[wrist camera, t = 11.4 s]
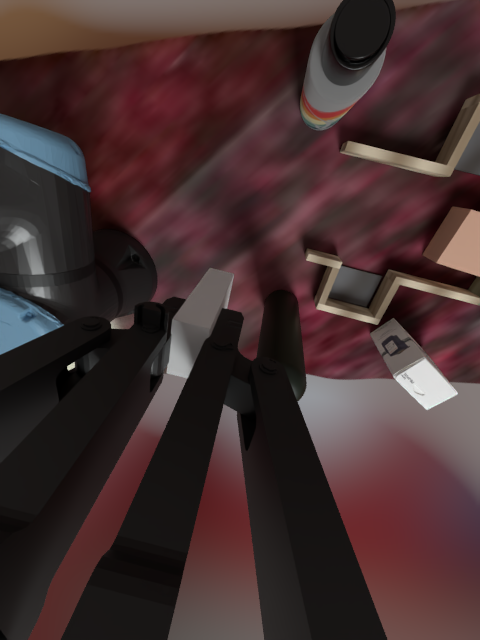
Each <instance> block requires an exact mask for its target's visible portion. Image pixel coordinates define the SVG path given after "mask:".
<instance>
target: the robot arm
mask: <svg viewBox="0 0 480 640" xmlns="http://www.w3.org/2000/svg"><path fill="white" fill-rule="evenodd" d="M90 192H91V188H90V187H89V185H88V179H87V172H86V165H85V158H84V155H83V153H82V151H81V149H80V148H79V146H78V145H77V144H76V143H75V142H74V141H73V140H71V139H70V138H68V137H66V136H64V135H61V134H59V133H56V132H53V131H51V130H48V129H45V128H42V127H39V126H37V125H34V124H31V123H28V122H25V121H22V120H19V119H16V118H13V117H10V116H7V115H3V114H0V640H28V638H29V636H30V634H31V632H32V630H33V628H34V626H35V624H36V622H37V620H38V618H39V615H40V613H41V610H42V608H43V605H44V602H45V598H46V595H47V591H48V588H49V586H50V583H51V581H52V579H53V577H54V575H55V573H56V571H57V569H58V568H59V566H60V564H61V562H62V560H63V559H64V557H65V555H66V553H67V551H68V550H69V548H70V546H71V544H72V543H73V541H74V539H75V537H76V535H77V533H78V532H79V530H80V528H81V526H82V524H83V523H84V521H85V519H86V517H87V515H88V514H89V512H90V510H91V508H92V507H93V505H94V503H95V501H96V499H97V497H98V496H99V494H100V492H101V490H102V489H103V486H104V485H105V483H106V481H107V479H108V478H109V476H110V474H111V472H112V471H113V469H114V467H115V465H116V463H117V461H118V460H119V458H120V456H121V454H122V453H123V451H124V449H125V447H126V445H127V444H128V442H129V440H130V438H131V436H132V435H133V433H134V431H135V429H136V427H137V426H138V424H139V422H140V420H141V418H142V417H143V415H144V413H145V411H146V409H147V408H148V406H149V404H150V402H151V400H152V399H153V397H154V395H155V393H156V391H157V390H158V388H159V386H160V384H161V383H162V379H163V373H164V370H165V368H166V366H167V364H168V366H167V373H168V374H172V375H176V376H180V377H185V378H188V379H187V381H186V383H185V385H184V387H183V390H182V392H181V394H180V396H179V399H178V401H177V403H176V405H175V407H174V410H173V412H172V414H171V417H170V419H169V421H168V423H167V425H166V428H165V430H164V432H163V434H162V437H161V439H160V441H159V443H158V445H157V448H156V450H155V452H154V455H153V457H152V459H151V461H150V464H149V466H148V468H147V470H146V472H145V474H144V477H143V479H142V481H141V483H140V486H139V488H138V490H137V492H136V494H135V497H134V499H133V501H132V503H131V506H130V508H129V510H128V512H127V515H126V517H125V519H124V521H123V523H122V526H121V528H120V530H119V532H118V535H117V537H116V539H115V541H114V543H113V545H112V546H111V548H110V550H108V551H107V552H106V553H105V554H104V555H103V556H102V558H101V559H100V561H99V562H98V564H97V566H96V567H95V569H94V571H93V573H92V575H91V577H90V579H89V581H88V583H87V585H86V587H85V589H84V591H83V594H82V596H81V598H80V600H79V602H78V604H77V606H76V608H75V611H74V613H73V615H72V617H71V619H70V621H69V623H68V626H67V627H66V630H65V632H64V634H63V636H62V638H61V640H167V638H168V634H169V630H170V625H171V622H172V617H173V613H174V609H175V605H176V600H177V597H178V593H179V588H180V584H181V579H182V575H183V570H184V566H185V562H186V558H187V554H188V550H189V546H190V541H191V537H192V533H193V529H194V525H195V521H196V516H197V512H198V508H199V504H200V500H201V496H202V492H203V487H204V483H205V479H206V475H207V471H208V467H209V462H210V458H211V454H212V450H213V446H214V442H215V437H216V433H217V429H218V425H219V421H220V417H221V413H222V408H223V404H225V405H227V406H228V407H230V408H232V409H234V410H235V411H237V420H238V428H239V436H240V445H241V453H242V461H243V469H244V477H245V485H246V493H247V502H248V510H249V518H250V526H251V534H252V543H253V550H254V559H255V567H256V575H257V583H258V591H259V599H260V608H261V615H262V624H263V632H264V640H387V637H386V635H385V632H384V629H383V627H382V624H381V622H380V619H379V616H378V614H377V611H376V608H375V606H374V603H373V600H372V598H371V595H370V592H369V590H368V587H367V584H366V582H365V579H364V576H363V574H362V571H361V569H360V566H359V563H358V561H357V558H356V555H355V553H354V550H353V547H352V545H351V542H350V540H349V537H348V534H347V532H346V529H345V526H344V524H343V521H342V518H341V516H340V513H339V510H338V508H337V505H336V502H335V500H334V497H333V495H332V492H331V489H330V487H329V484H328V481H327V479H326V476H325V474H324V471H323V468H322V465H321V463H320V460H319V458H318V455H317V452H316V450H315V447H314V444H313V442H312V439H311V436H310V434H309V431H308V428H307V426H306V423H305V421H304V418H303V415H302V413H301V410H300V407H299V405H298V402H297V399H296V397H295V394H294V391H293V389H292V386H291V383H290V381H289V378H288V376H287V373H286V370H285V368H284V367H283V365H282V364H280V363H279V362H278V361H276V360H274V359H272V358H268V357H258V358H256V359H254V360H253V361H251V360H249V359H247V358H245V357H244V356H243V355H242V354H241V353H240V352H239V351H238V341H239V337H240V333H241V328H242V324H243V320H244V317H243V315H242V313H241V312H237V311H233V310H229V309H227V306H228V301H229V297H230V292H231V287H232V282H233V278H234V274H233V273H229V272H224V271H220V270H216V269H212V268H209V270H208V271H207V273H206V274H205V275H204V277H203V278H202V279H201V281H200V282H199V283H198V285H197V286H196V287H195V289H194V290H193V292H192V293H191V294H190V296H189V297H188V298H187V300H185V299H181V298H177V297H172V298H169V299H167V300H166V301H165V302H164V303H163V304H160V303H156V302H150V301H151V299H152V298H153V296H154V294H155V292H156V288H157V273H156V269H155V266H154V263H153V261H152V259H151V257H150V255H149V254H148V252H147V251H146V250H145V249H144V247H143V246H142V245H141V244H140V243H139V242H137V241H136V240H135V239H133V238H132V237H130V236H129V235H127V234H125V233H122V232H120V231H116V230H111V229H103V230H98V231H94V232H93V231H92V218H91V205H90ZM133 313H134V325H133V326H132V327H131V328H130V329H111V324H110V322H111V321H112V320H113V319H115V318H118V317H122V316H126V315H130V314H133ZM73 362H75V368H73V369H71V370H69V371H68V370H67V366H68V365H70V364H71V363H73Z"/></svg>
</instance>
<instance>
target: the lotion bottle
mask: <svg viewBox="0 0 480 640" xmlns="http://www.w3.org/2000/svg"><path fill="white" fill-rule="evenodd" d="M395 18H396V12H395V6H394V3H393V1H392V0H343V1H342V2H341V4H340V5H339V7H338V8H337V10H336V12H335V14H333V15H332V16H331V17H330V18H329V19H328V20H327V21H326V22H325V23H324V24H323V26H322V27H321V29H320V30H319V32H318V33H317V35H316V37H315V40H314V42H313V45H312V48H311V51H310V55H309V60H308V64H307V69H306V74H305V79H304V84H303V89H302V94H301V100H300V111H301V116H302V118H303V120H304V122H305V123H306V124H307V125H308V126H309V127H310V128H312V129H315V130H325V129H328V128H330V127H332V126H333V125H334V124H336V123H337V122H338V121H339V120H340V119H341V118H342V117H343V116H344V115H345V114H346V113H347V112H348V111H349V110H350V109H351V108H352V106H353V105H354V104H355V103H356V102H357V101H358V100H359V99H360V98H361V97H362V96H363V95H364V94H365V93H366V92H367V91H368V89H369V88H370V87H371V86H372V84H373V83H374V82H375V80H376V78H377V77H378V75H379V73H380V70H381V68H382V65H383V62H384V58H385V53H386V47H387V45H388V43H389V41H390V39H391V36H392V34H393V30H394V26H395Z"/></svg>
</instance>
